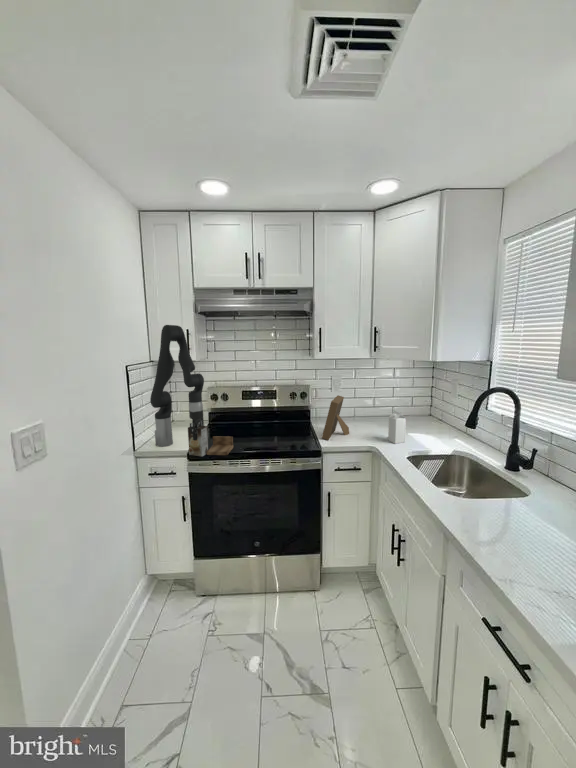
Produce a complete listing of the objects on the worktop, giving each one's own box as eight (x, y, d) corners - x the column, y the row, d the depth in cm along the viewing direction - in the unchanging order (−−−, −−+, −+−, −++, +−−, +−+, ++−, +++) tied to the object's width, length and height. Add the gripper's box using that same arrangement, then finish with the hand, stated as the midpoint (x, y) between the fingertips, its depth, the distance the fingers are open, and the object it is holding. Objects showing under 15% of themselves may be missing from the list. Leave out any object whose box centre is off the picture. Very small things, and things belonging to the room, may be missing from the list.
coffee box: (188, 455, 183) (186, 427, 181) (195, 451, 189) (193, 424, 187) (202, 456, 180) (200, 428, 178) (208, 452, 186) (207, 425, 184)
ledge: (206, 454, 183) (206, 442, 182) (213, 447, 195) (213, 436, 194) (227, 455, 182) (226, 443, 181) (233, 447, 194) (232, 436, 193)
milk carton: (397, 439, 203) (398, 409, 200) (405, 442, 197) (406, 412, 194) (388, 440, 201) (388, 410, 198) (395, 444, 194) (396, 413, 192)
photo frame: (321, 439, 205) (322, 400, 201) (329, 430, 225) (329, 394, 222) (345, 442, 200) (346, 402, 197) (350, 432, 221) (351, 396, 217)
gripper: (194, 406, 188) (196, 434, 191) (184, 412, 174) (186, 442, 177) (207, 406, 188) (208, 434, 190) (197, 412, 173) (199, 442, 176)
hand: (197, 437), depth 183 cm, fingers closed on coffee box, 7 cm apart
